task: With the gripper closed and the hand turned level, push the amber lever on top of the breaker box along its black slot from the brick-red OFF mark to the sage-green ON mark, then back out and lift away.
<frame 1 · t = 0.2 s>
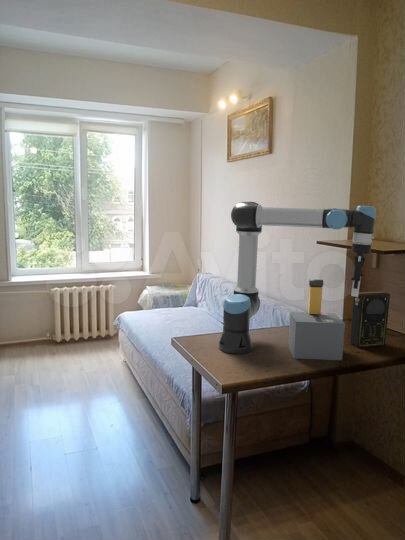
hand: (355, 293, 179), 27 cm above the table, tool pointing down, fingers open, 13 cm apart
breaker box: (314, 352, 186), on the table
lever: (315, 296, 187), point 24 cm above the table, slide at 0.0 cm
voltmeter: (367, 344, 198), on the table
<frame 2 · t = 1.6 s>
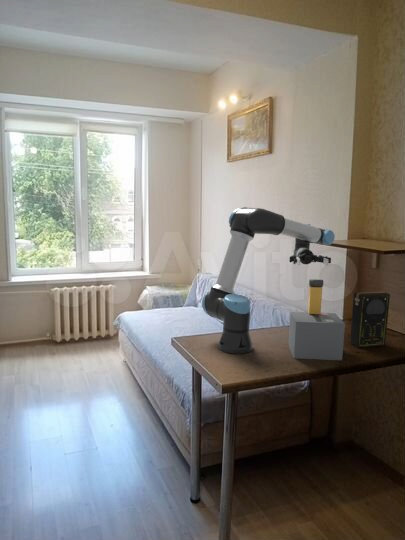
hand: (313, 262, 193), 38 cm above the table, tool horizontal, fingers open, 12 cm apart
nothing on the table moved.
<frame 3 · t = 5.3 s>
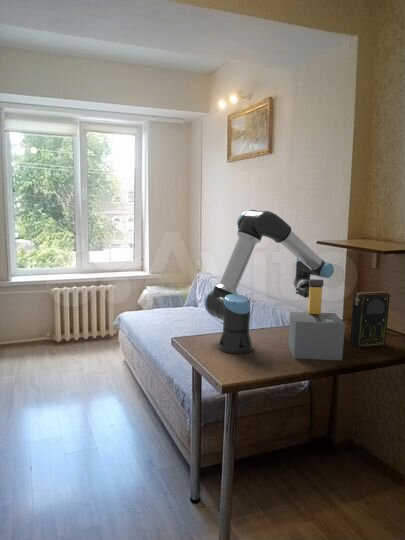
hand: (316, 298, 189), 23 cm above the table, tool horizontal, fingers closed
lever: (315, 296, 187), point 24 cm above the table, slide at 0.0 cm, touching gripper
everything else where it was.
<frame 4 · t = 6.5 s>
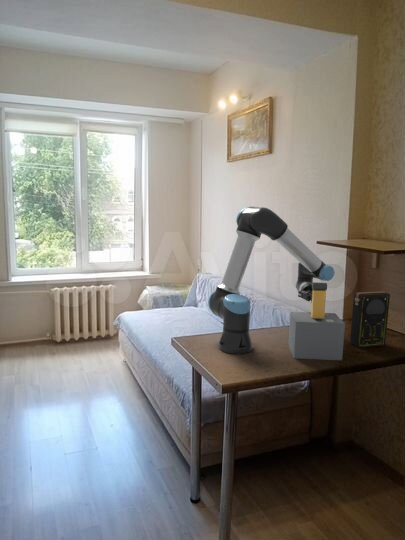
hand: (319, 302, 182), 23 cm above the table, tool horizontal, fingers closed
lever: (318, 300, 180), point 24 cm above the table, slide at 7.0 cm, touching gripper
everything else where it was.
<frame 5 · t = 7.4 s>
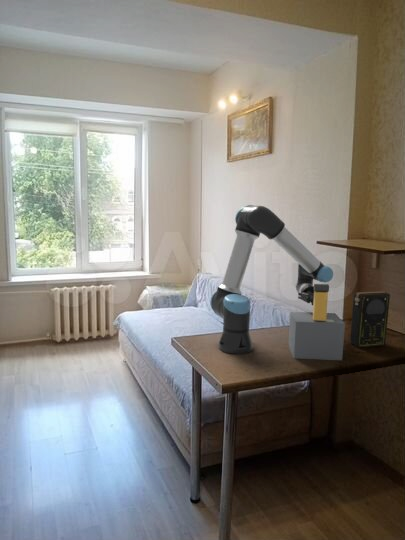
hand: (319, 304, 179), 22 cm above the table, tool horizontal, fingers closed
lever: (320, 302, 177), point 24 cm above the table, slide at 10.3 cm, touching gripper
everything else where it was.
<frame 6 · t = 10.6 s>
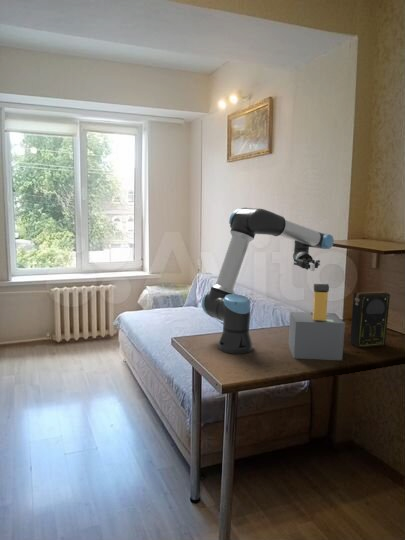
hand: (313, 267, 191), 36 cm above the table, tool horizontal, fingers closed
lever: (320, 301, 177), point 24 cm above the table, slide at 10.0 cm
everything else where it was.
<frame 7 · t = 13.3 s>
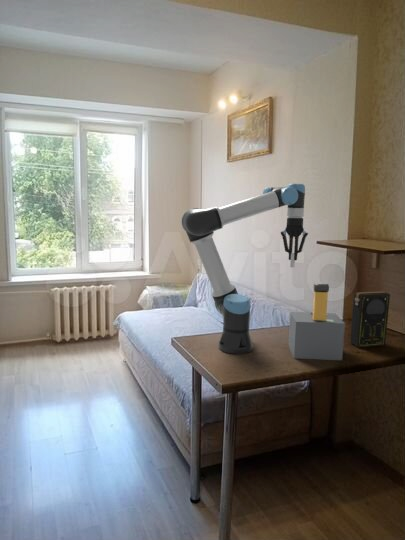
hand: (292, 266, 202), 34 cm above the table, tool pointing down, fingers closed
nothing on the table moved.
at the end: lever slide at 10.0 cm; voltmeter moved 0.2 cm from its start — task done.
